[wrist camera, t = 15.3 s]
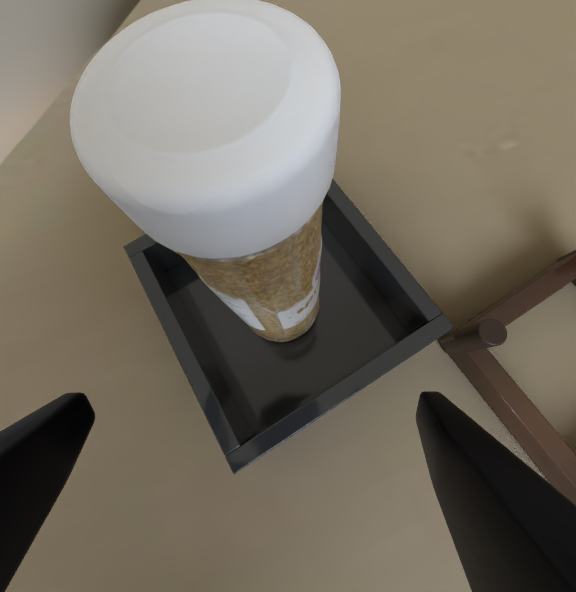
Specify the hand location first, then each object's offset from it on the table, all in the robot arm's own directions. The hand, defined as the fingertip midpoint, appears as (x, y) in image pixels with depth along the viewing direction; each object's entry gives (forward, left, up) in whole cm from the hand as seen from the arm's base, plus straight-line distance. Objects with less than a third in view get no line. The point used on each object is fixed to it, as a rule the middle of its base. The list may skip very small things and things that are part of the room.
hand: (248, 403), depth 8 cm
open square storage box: (+5, -3, -9) cm, 10 cm away
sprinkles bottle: (+4, -3, -9) cm, 10 cm away
